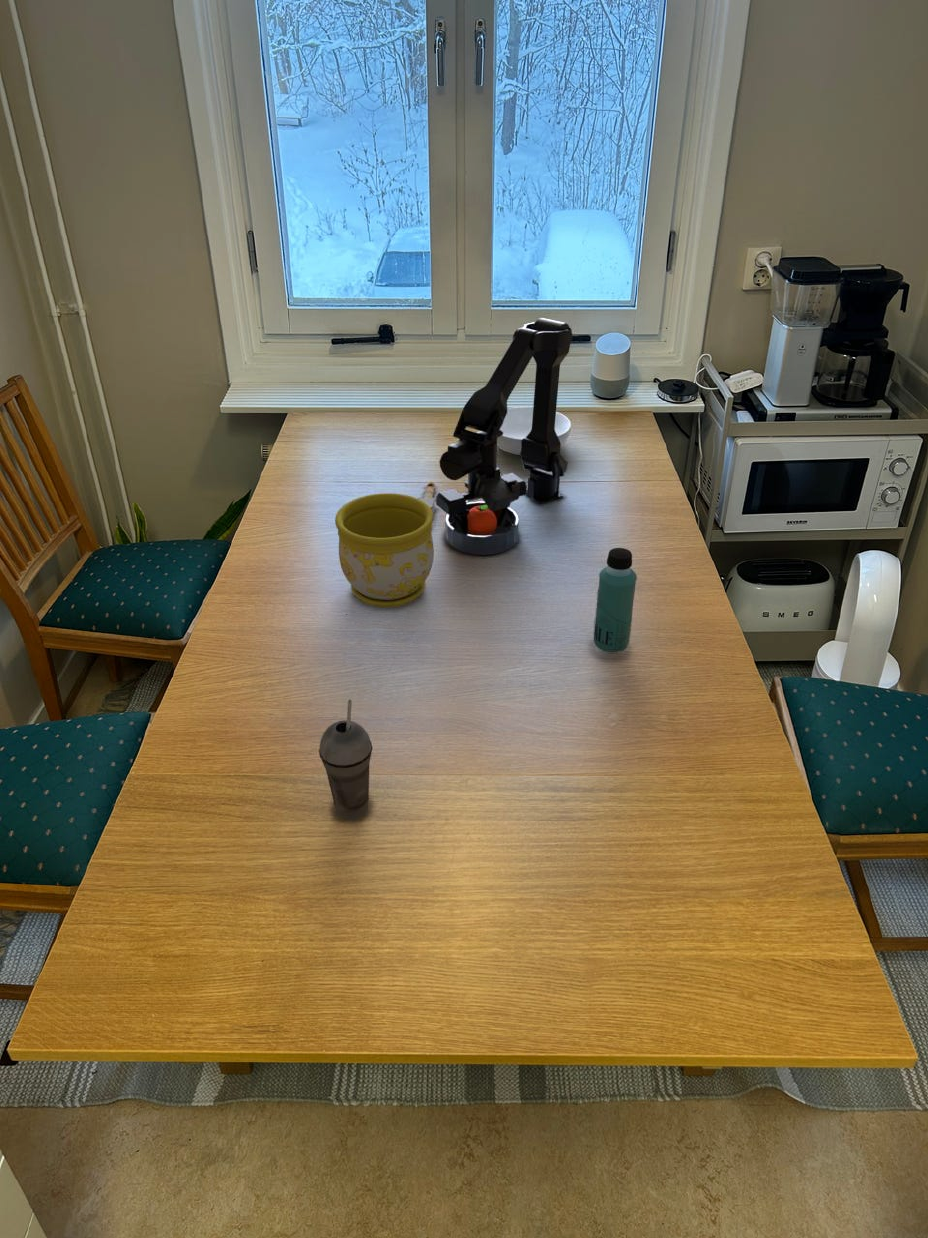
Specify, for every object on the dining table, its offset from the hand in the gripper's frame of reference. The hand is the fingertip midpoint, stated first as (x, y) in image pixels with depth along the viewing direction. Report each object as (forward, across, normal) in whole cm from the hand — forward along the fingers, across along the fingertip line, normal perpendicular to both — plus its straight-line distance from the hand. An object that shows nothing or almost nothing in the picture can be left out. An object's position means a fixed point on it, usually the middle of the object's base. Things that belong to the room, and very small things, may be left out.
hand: (481, 529), depth 193 cm
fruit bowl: (+2, 0, 0) cm, 2 cm away
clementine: (+2, 0, 0) cm, 2 cm away
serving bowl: (+2, +33, +32) cm, 46 cm away
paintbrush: (+2, -4, +17) cm, 18 cm away
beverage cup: (+2, -56, -56) cm, 79 cm away
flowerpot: (+2, -26, -8) cm, 27 cm away
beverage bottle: (+2, -1, -45) cm, 45 cm away
